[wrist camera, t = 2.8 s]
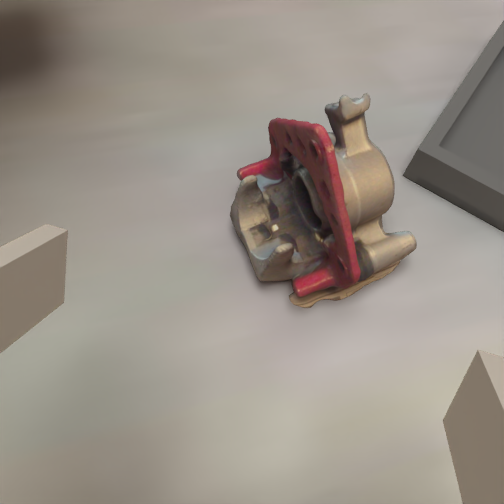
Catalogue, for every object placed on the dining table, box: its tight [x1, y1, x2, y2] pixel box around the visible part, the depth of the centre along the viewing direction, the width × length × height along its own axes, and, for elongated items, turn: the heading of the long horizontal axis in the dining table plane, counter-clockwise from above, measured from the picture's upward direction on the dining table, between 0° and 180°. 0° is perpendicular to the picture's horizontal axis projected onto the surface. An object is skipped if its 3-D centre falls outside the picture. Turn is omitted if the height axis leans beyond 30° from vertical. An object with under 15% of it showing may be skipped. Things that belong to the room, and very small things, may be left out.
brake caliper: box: [230, 93, 417, 308], centre depth 28 cm, size 11×11×12 cm
